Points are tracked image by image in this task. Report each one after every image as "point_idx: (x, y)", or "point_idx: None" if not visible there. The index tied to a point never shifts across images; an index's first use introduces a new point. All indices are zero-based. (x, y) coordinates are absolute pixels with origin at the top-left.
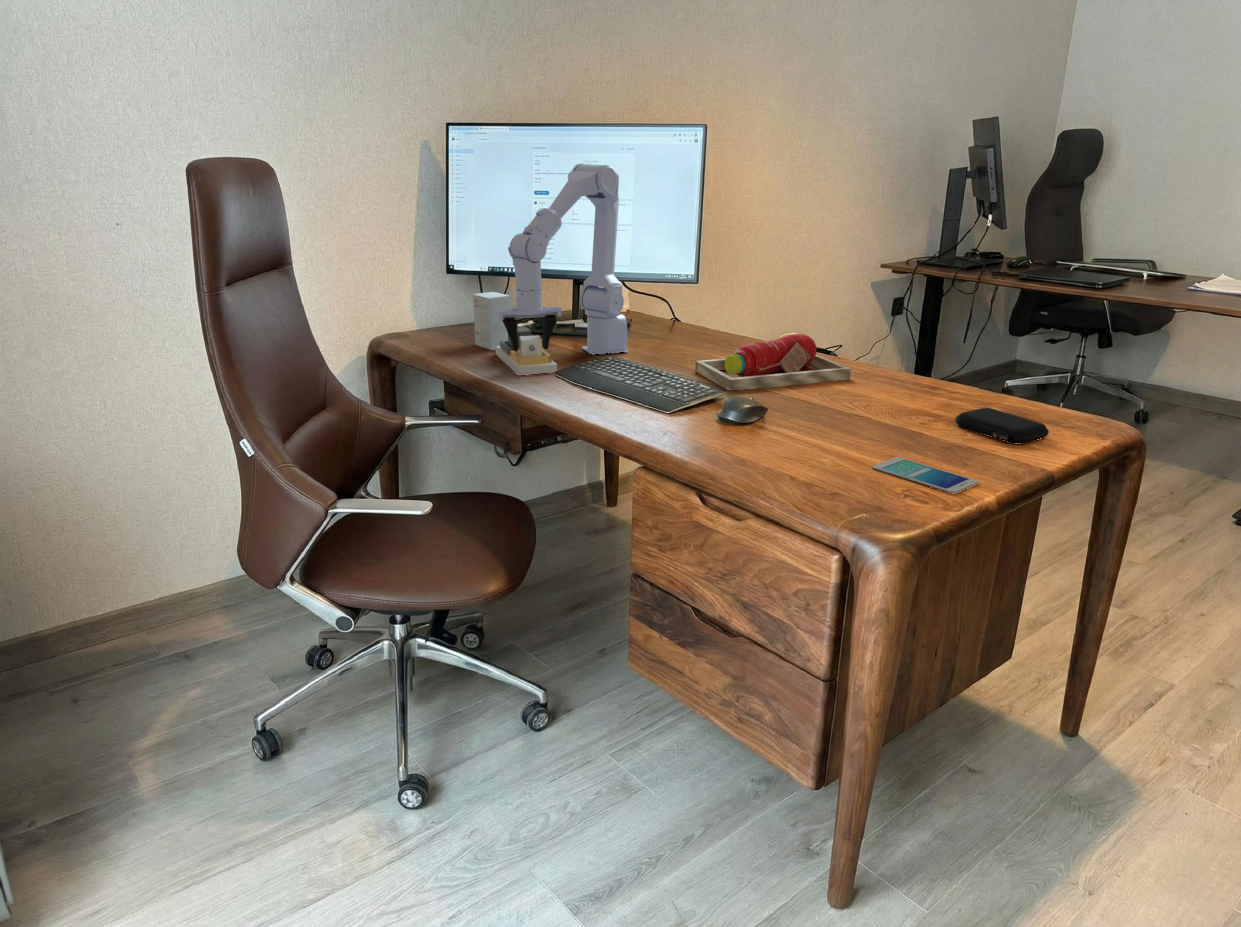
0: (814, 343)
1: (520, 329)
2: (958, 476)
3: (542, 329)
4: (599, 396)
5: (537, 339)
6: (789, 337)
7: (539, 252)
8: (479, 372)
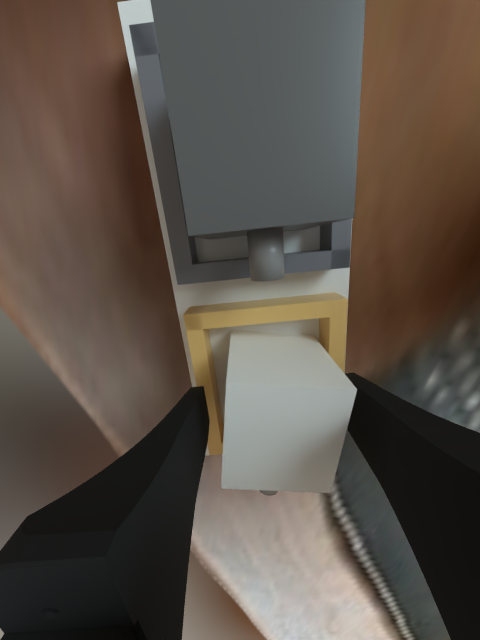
0: None
1: (276, 113)
2: None
3: (406, 430)
4: (352, 585)
5: (314, 476)
6: None
7: None
8: (88, 368)
